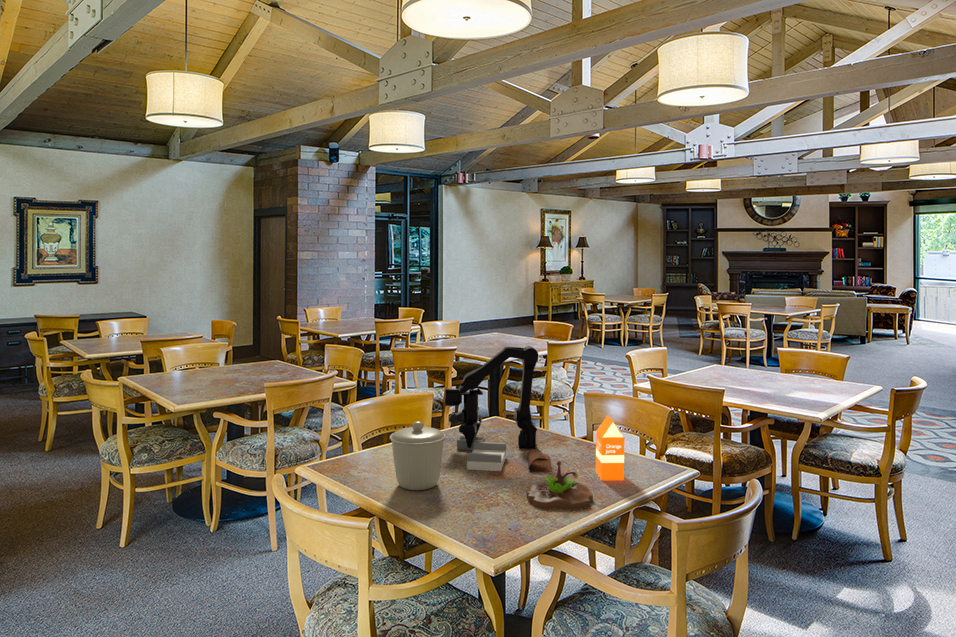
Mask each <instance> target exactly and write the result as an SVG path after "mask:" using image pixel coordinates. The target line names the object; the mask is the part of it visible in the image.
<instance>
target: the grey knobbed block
mask: <svg viewBox="0 0 956 637" xmlns="http://www.w3.org/2000/svg"><path fill="white" fill-rule="evenodd" d="M474 442H486V437H483V436H482V437H481V436H480V437H479V436H478V437H477V436H476V437H474V440H473V443H472V445H471V448H468V447H467V443H466V439H465V436H464V435H463V434H462V433H460V434H459V437H458V438H457V439H456V450H462V449H464V451H465V450H466V451H473V450H474Z"/></svg>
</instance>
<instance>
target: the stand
mask: <svg viewBox="0 0 956 637" xmlns="http://www.w3.org/2000/svg"><path fill="white" fill-rule="evenodd" d="M471 451H472V452H467V453H466V470H468V471H469V470H470V471H485V472H487V471H488V472H502V469H503V467H504V464H505V461H506V459H507V442H494V441H493V442H491V441H490V442H489V441H485V442H474V450H471Z"/></svg>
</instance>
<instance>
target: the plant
mask: <svg viewBox="0 0 956 637" xmlns="http://www.w3.org/2000/svg"><path fill="white" fill-rule="evenodd" d="M556 465H557V472H556V474H555V475H553V477H550V476H547V475H546V476H545V479H546V480H540V481H535V483H533V484H532V485H531V486H530V490H529V491H527V492H526V498H527V502H528V503H531V504H533V505H532V506H533V507H535V508H539V509H543V510H555V509H557V510H570V509H572V510H571V511H575V510H574V509H577V510H582V509H581V508H583V509H585V507H586V508H590V507H591V503H592V501H593V502H594V496H593V494H592V492H591V491H590V488H589V487H588V486H587V485H586V484H583V483H580V482H577V480H575V479H576V478H577V479H578V473H577V472H575V471H568V472H566V473H565V474H562V470H561V469H562V468H561V466H562V462H561V461H560V460H557V462H556ZM569 475H572V476H573V478H575V479H574V480H571V481H570V480H569V479H570V477H569ZM590 502H591V503H590ZM589 506H590V507H589Z"/></svg>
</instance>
